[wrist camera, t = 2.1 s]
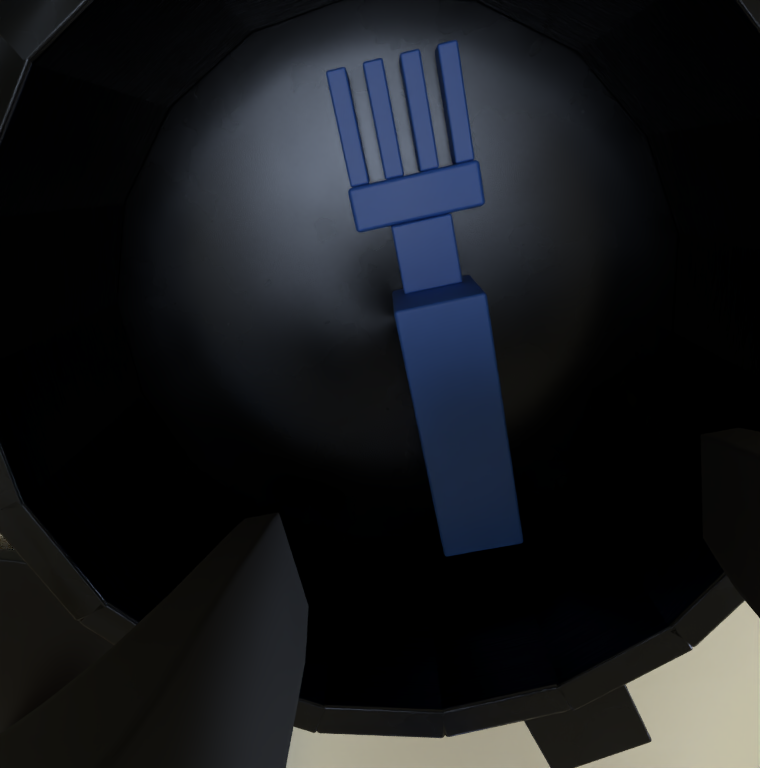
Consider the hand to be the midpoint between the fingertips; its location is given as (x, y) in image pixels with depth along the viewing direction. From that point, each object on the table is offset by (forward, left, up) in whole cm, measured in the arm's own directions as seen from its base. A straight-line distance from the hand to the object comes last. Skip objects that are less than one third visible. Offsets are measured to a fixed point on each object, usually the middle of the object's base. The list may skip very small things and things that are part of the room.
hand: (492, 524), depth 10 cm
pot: (0, +3, -6) cm, 7 cm away
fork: (+1, +2, -6) cm, 6 cm away
